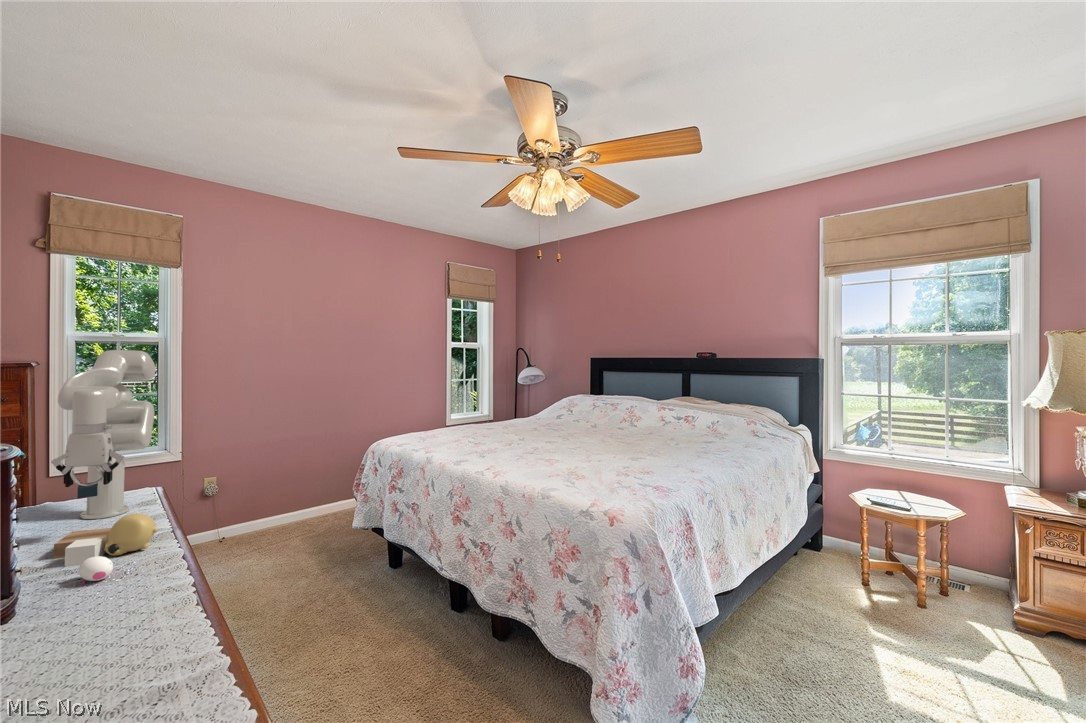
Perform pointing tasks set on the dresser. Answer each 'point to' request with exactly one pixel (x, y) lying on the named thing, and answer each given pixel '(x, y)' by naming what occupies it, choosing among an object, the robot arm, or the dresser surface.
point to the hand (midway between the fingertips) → (88, 484)
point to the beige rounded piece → (130, 534)
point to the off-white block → (83, 550)
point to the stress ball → (95, 568)
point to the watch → (87, 484)
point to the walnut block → (78, 535)
